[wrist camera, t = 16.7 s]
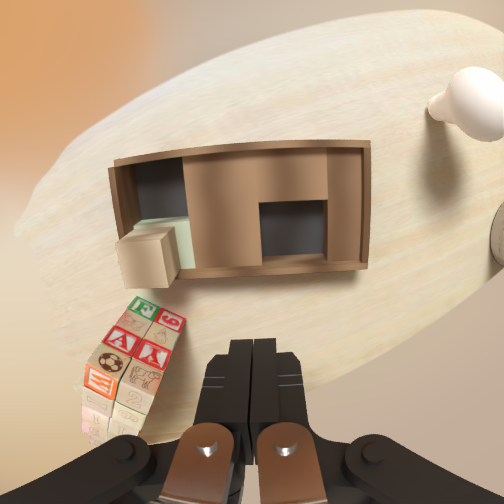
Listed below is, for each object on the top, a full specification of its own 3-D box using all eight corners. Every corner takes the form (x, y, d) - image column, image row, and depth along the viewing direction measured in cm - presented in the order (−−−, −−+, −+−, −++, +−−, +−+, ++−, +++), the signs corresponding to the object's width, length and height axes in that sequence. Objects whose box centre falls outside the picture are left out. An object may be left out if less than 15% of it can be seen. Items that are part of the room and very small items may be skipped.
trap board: (358, 140, 25) (375, 140, 20) (357, 255, 29) (371, 274, 24) (129, 157, 26) (107, 161, 22) (146, 266, 30) (129, 285, 26)
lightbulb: (456, 141, 24) (529, 150, 14) (409, 135, 24) (480, 137, 14) (453, 86, 22) (524, 74, 11) (405, 75, 22) (471, 51, 12)
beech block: (174, 225, 26) (160, 239, 22) (181, 268, 27) (168, 287, 23) (133, 229, 26) (114, 243, 22) (141, 269, 27) (125, 288, 23)
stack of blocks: (146, 416, 39) (123, 479, 27) (109, 399, 38) (80, 459, 27) (187, 317, 32) (154, 398, 20) (136, 293, 31) (84, 363, 20)
